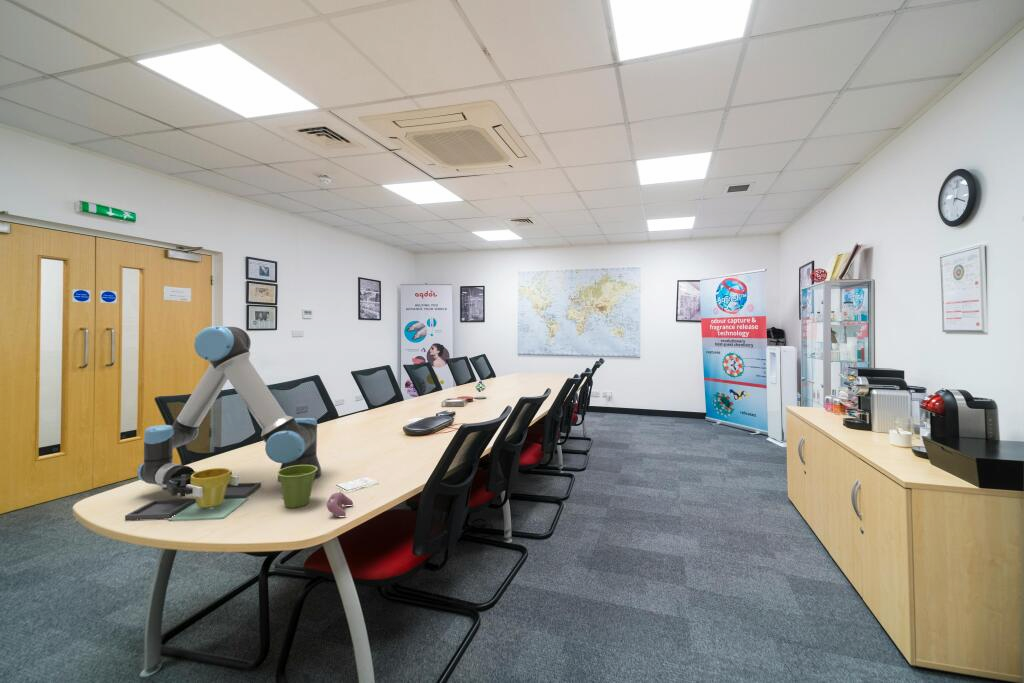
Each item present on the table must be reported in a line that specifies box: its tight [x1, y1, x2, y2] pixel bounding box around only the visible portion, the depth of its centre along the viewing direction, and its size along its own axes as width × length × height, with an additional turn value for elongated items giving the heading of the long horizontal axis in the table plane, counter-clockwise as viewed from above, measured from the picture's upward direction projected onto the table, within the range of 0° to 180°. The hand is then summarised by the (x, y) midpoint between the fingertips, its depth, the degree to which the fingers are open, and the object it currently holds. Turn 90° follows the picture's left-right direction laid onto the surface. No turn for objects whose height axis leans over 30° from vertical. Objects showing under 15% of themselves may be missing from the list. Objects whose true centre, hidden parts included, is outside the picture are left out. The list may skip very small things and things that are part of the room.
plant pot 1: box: [191, 467, 232, 508], centre depth 130 cm, size 10×10×10 cm
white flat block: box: [335, 476, 379, 491], centre depth 154 cm, size 2×8×12 cm
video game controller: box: [326, 491, 354, 517], centre depth 130 cm, size 10×5×7 cm, turn 6°
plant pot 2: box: [276, 465, 318, 509], centre depth 136 cm, size 12×12×11 cm
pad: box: [167, 497, 249, 521], centre depth 130 cm, size 15×15×1 cm
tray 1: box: [124, 498, 196, 521], centre depth 128 cm, size 12×12×2 cm
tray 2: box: [224, 482, 262, 499], centre depth 144 cm, size 12×12×2 cm
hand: (219, 486), depth 129 cm, fingers closed on plant pot 1, 10 cm apart
